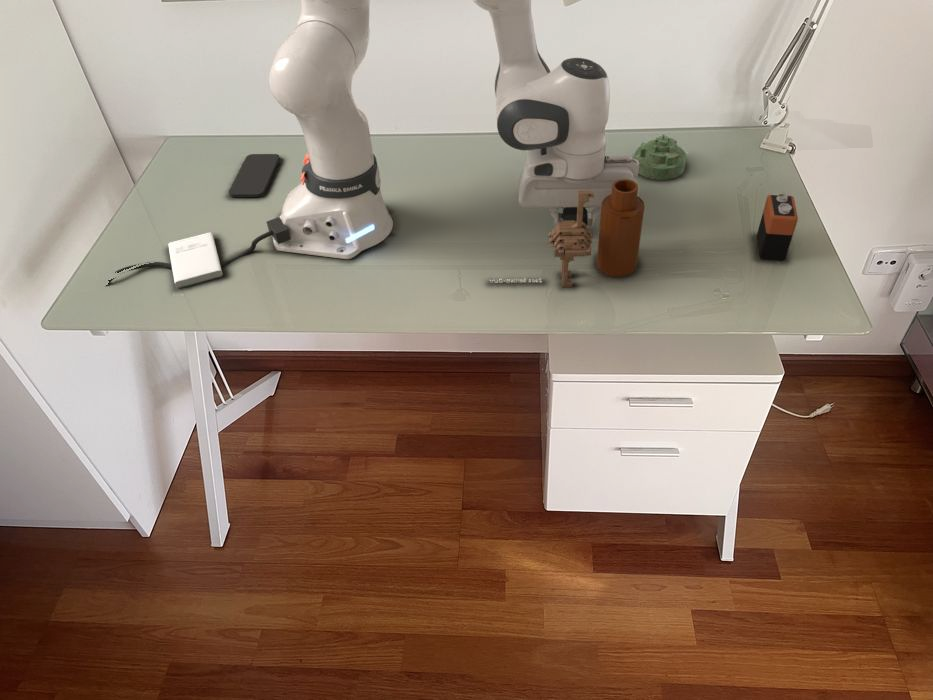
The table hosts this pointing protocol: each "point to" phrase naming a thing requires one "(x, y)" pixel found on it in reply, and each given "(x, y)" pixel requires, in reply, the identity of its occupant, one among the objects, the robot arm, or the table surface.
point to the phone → (254, 175)
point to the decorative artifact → (660, 159)
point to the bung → (574, 214)
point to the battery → (776, 227)
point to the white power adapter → (194, 260)
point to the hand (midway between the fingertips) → (574, 223)
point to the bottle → (620, 229)
